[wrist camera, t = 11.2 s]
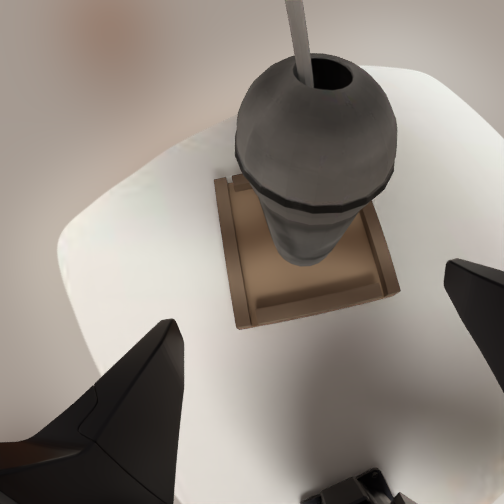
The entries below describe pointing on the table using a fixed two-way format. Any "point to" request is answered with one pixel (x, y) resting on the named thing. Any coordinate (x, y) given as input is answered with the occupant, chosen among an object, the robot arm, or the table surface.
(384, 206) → the table surface
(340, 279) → the walnut tray
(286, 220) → the beverage cup
